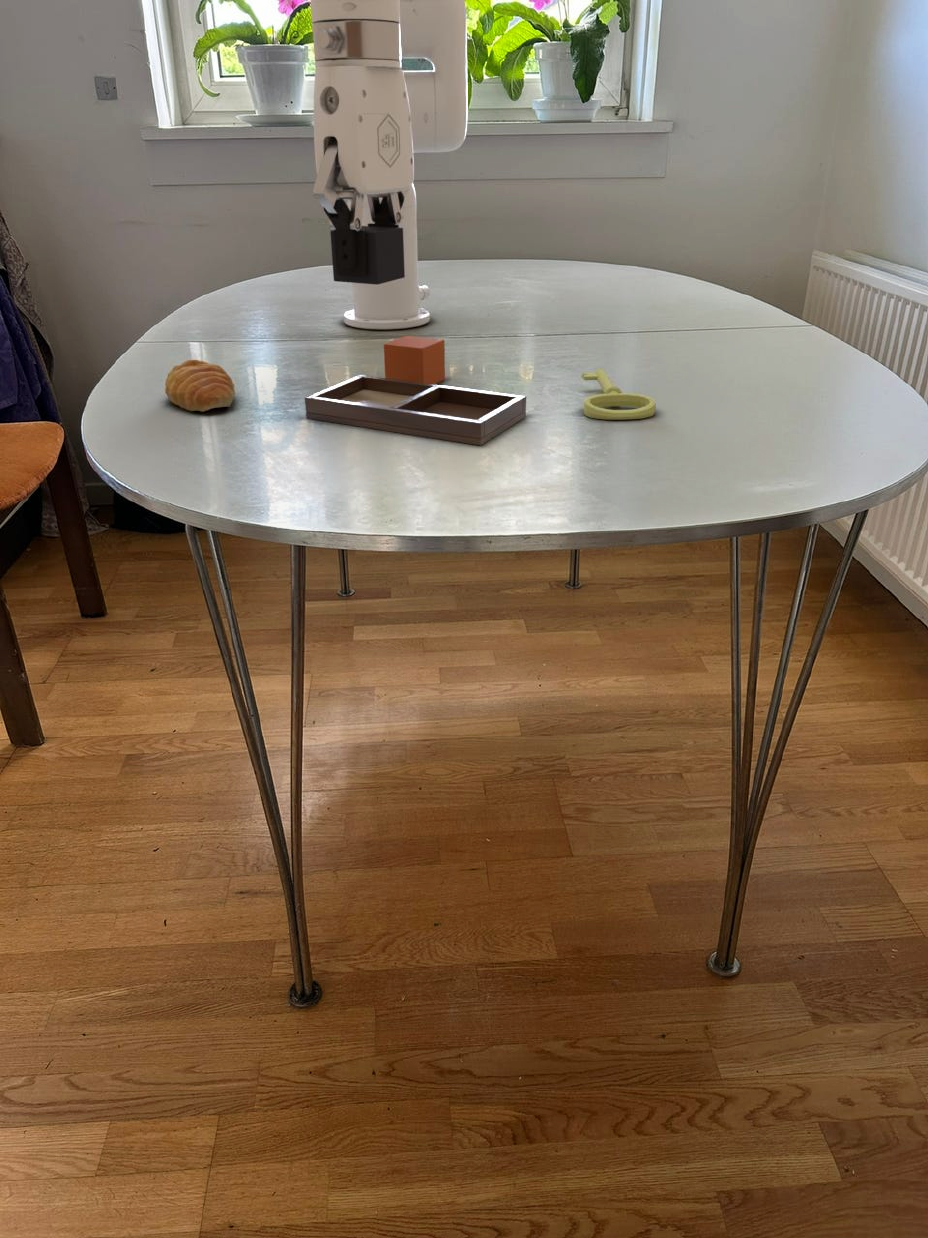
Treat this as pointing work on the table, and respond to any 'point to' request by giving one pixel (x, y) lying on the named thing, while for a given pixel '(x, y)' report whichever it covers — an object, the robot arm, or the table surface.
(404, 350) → the orange block
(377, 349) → the table surface
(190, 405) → the pastry
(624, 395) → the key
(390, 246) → the black block
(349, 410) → the brown divided tray
